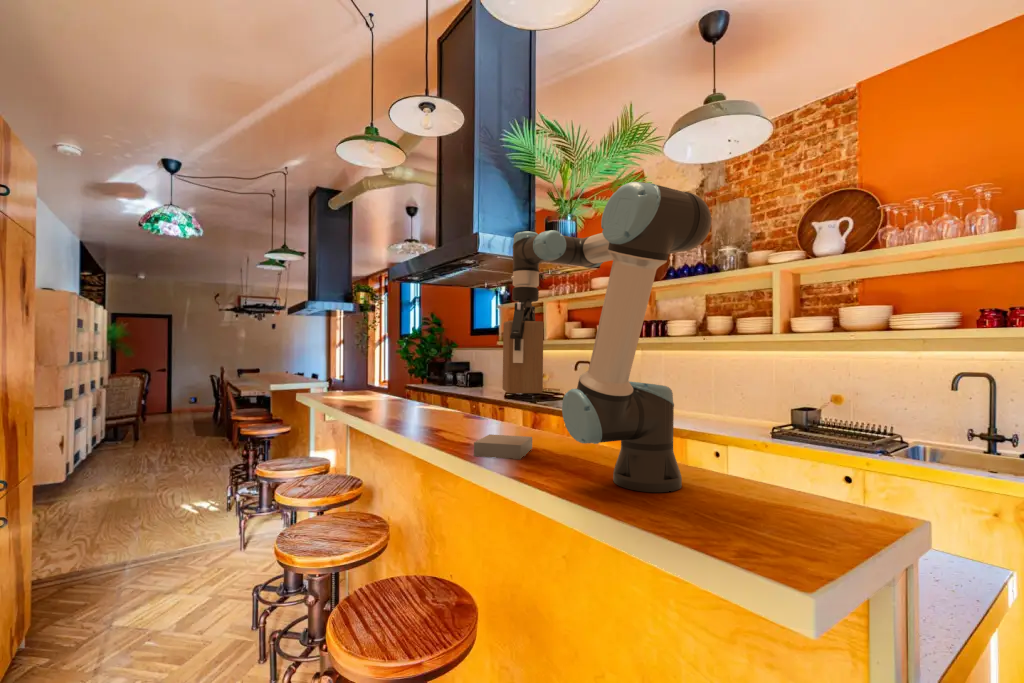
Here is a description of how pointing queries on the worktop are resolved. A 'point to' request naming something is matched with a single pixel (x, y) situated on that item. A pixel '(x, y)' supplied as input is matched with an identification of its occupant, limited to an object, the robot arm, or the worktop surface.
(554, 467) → the worktop surface
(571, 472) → the worktop surface
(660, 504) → the worktop surface
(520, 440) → the grey flat square block
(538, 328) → the wooden block
